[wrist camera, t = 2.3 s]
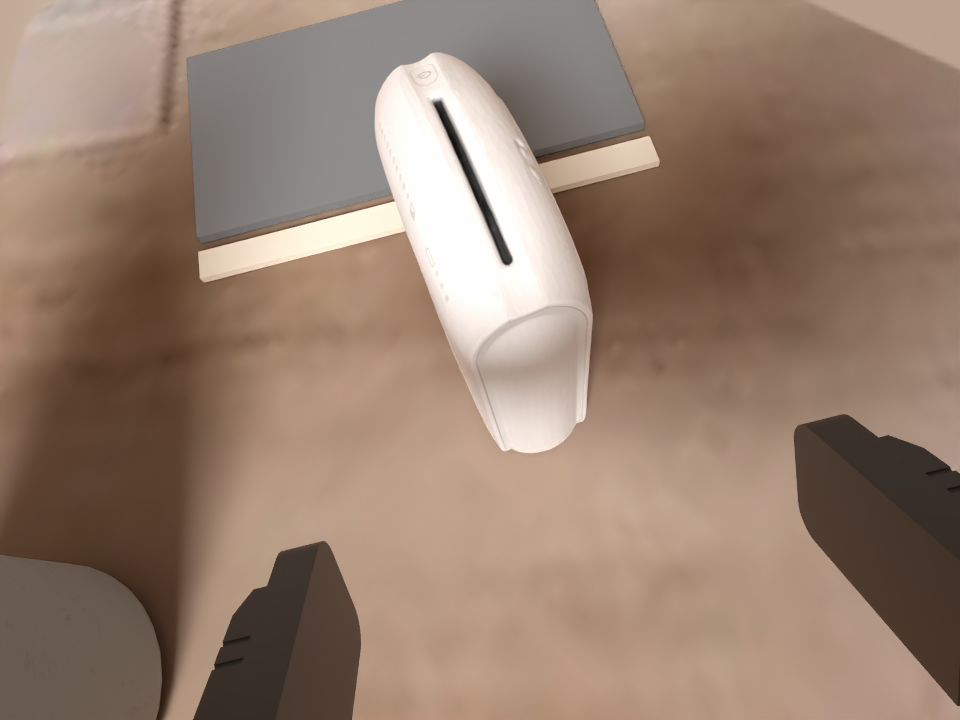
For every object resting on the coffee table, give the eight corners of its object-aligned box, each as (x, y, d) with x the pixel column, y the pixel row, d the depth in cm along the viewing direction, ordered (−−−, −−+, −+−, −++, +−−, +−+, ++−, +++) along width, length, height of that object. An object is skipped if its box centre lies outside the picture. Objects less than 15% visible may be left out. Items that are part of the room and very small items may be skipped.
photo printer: (420, 264, 30) (333, 45, 19) (507, 231, 30) (473, -6, 19) (498, 471, 26) (447, 352, 15) (599, 432, 26) (624, 284, 15)
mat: (575, -37, 36) (575, -46, 36) (658, 166, 31) (659, 159, 30) (191, 65, 37) (186, 58, 36) (204, 282, 31) (198, 277, 31)
